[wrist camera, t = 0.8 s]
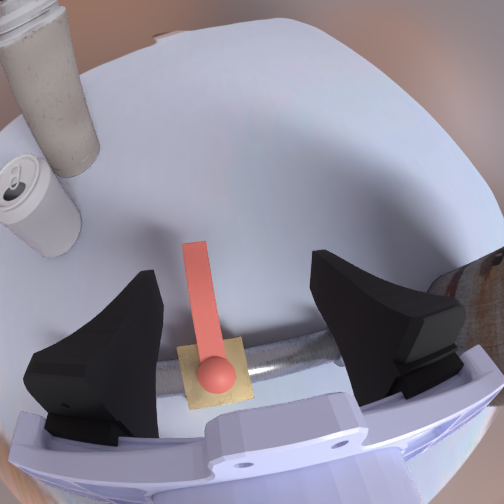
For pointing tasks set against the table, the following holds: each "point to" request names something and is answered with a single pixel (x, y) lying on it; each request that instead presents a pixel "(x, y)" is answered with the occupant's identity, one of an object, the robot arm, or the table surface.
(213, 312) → the lever
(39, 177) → the can
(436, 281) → the barrel
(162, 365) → the pipe and valve
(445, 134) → the table surface
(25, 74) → the thermos bottle
